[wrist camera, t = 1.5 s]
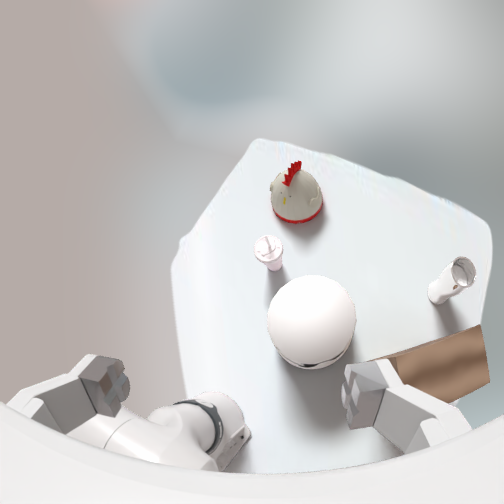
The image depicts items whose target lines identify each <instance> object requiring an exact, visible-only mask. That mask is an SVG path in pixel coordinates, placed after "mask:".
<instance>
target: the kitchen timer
mask: <svg viewBox="0 0 504 504" xmlns="http://www.w3.org/2000/svg"><path fill="white" fill-rule="evenodd" d="M270 191H272V193H271V203H272V207H273V210H274V212H275V213H276V215H277V216H278V217H279V218H280V219H282V220H284V221H286V222H288V223H295V224H297V223H304V222H307V221H310V220H311V219H313V218H314V217H315V216H316V215H317V214H318V213H319V212H320V210H321V207H322V193H321V190H320V187H319V185H318V183H317V182H316V180H315V179H314V178H313V176H312V175H311V174H309V173H308V172H306V171H305V170H302V169H301V161H298V162H294V164H293V163H291V168H288V170H285V171H284V172H282V173H279V174H278V176H277V177H276V179H275V180H274V182H272V183H271V185H270Z"/></svg>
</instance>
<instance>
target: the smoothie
mask: <svg viewBox="0 0 504 504" xmlns="http://www.w3.org/2000/svg"><path fill="white" fill-rule="evenodd" d="M254 253H255V256H256V258H257V259H258V260H259V261H260V262H262V263H264V264H265V265H266V266H267V267H268V268H269V270H271V271H278V270H279V269H280V268H281V267H282V254H283V245H282V243H281V241H280V240H279V239H278V238H277V237H275V236H272V235H267V236H263V237H261V238H260V239H259V240H258V241H257V242H256V243H255V246H254Z"/></svg>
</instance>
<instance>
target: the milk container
mask: <svg viewBox="0 0 504 504" xmlns="http://www.w3.org/2000/svg"><path fill="white" fill-rule="evenodd" d="M267 325H268V333H269V335H270V337H271V339H272V342H273V344H274V346H275V347H276V349H277V351H278V353H279V354H280V355H281V356H282V357H283V358H284V359H285V360H286V361H287V362H289V363H290V364H292V365H294V366H296V367H299V368H303V369H320V368H323V367H326V366H329V365H331V364H333V363H334V362H336V361H337V360H338V359H339V358H340V357H341V356H342V355H343V354H344V353H345V352H346V350H347V349H348V347H349V345H350V342H351V339H352V337H353V333H354V329H355V325H356V313H355V306H354V303H353V301H352V300H351V298H350V296H349V294H348V292H347V291H346V290H345V289H344V288H343V287H342V286H340V285H339V284H338V283H337V282H336V281H333V280H331V279H328V278H326V277H323V276H308V275H307V276H304V277H300V278H297V279H294V280H292V281H290V282H289V283H287V284H286V285H285V286H283V287H282V288H280V290H279V291H278V292H277V294H276V295H275V296H274V298H273V299H272V301H271V304H270V307H269V310H268V314H267Z"/></svg>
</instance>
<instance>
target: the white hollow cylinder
mask: <svg viewBox="0 0 504 504" xmlns="http://www.w3.org/2000/svg"><path fill="white" fill-rule="evenodd" d="M475 278H476V270H475V267H474V265H473V263H472V262H471V261H470V260H469V259H468V258H466V257H457V258H456V259H455V260H453V261H452V262H451V263H449V264H448V265H447V266H446V267H445V268H444V269H443V271H442V272H441V274H440V275H439V277H438V279H437V280H435V281H433V282H431V283H430V285H429V286H428V290H427V293H428V297H429V299H430V300H431V302H433V303H434V304H442V303H444V302H445V301H446V300H447V298H450V297H454V296H457V295H459V294H461V293H463V292H464V291H465V290H467V289H468V288H469V287H470V286H471V285H472V284H473V283H474V281H475Z"/></svg>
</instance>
